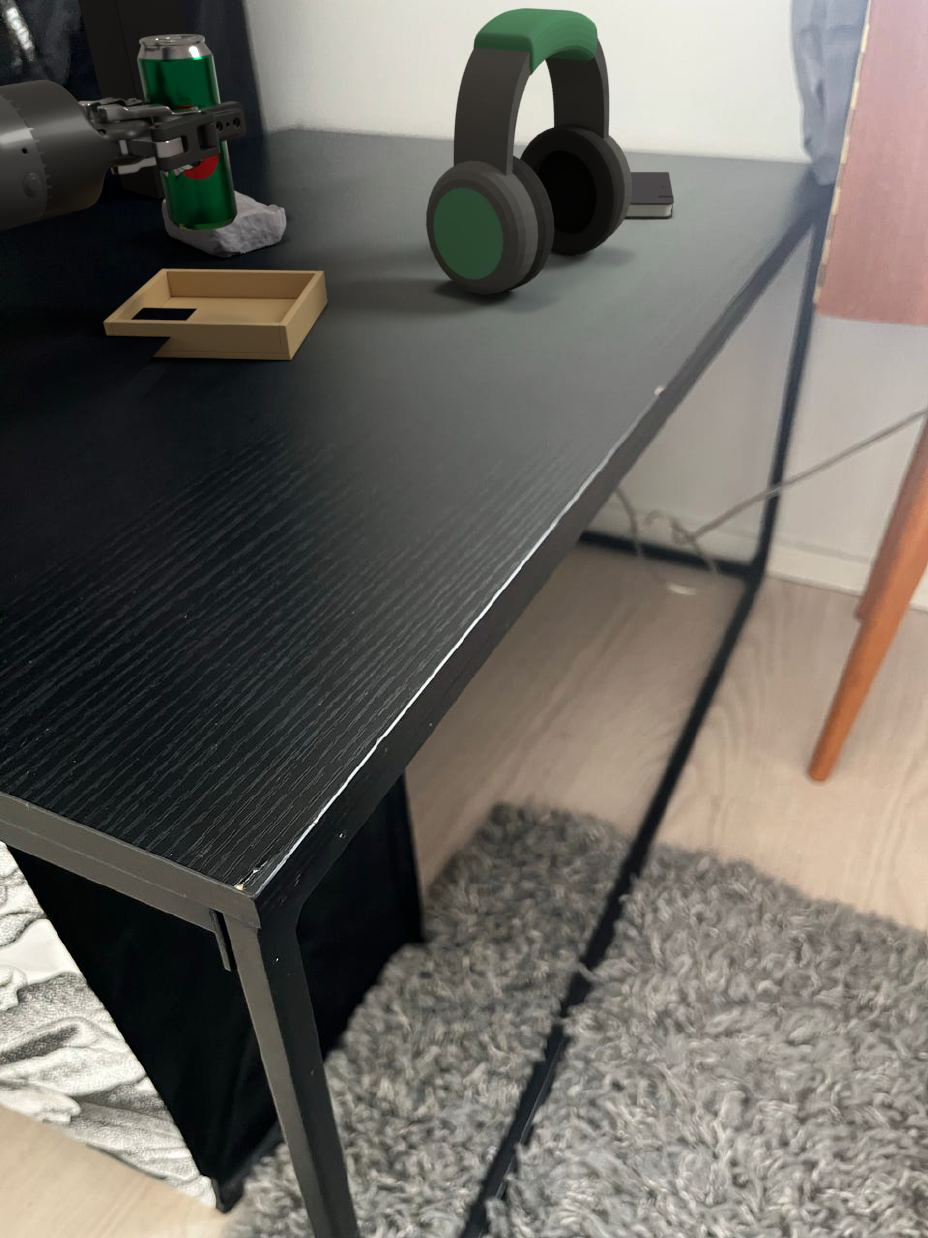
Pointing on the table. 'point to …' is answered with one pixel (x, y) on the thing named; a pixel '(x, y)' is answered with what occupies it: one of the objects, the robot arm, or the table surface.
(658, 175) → the notebook
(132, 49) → the tall black block
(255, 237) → the stone block
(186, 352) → the tray
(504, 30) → the headphones
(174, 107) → the soda can
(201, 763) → the table surface
